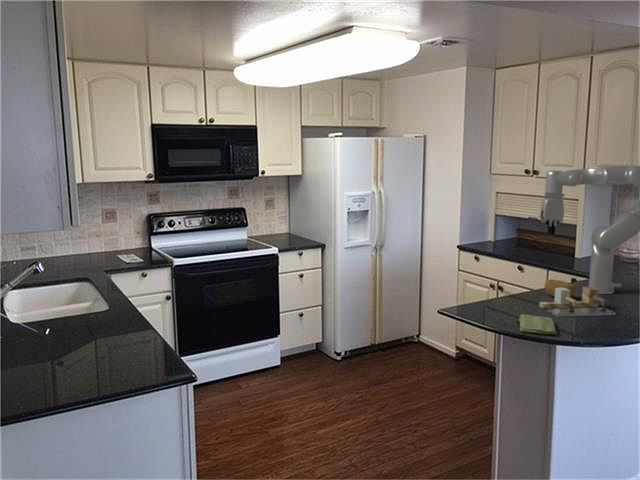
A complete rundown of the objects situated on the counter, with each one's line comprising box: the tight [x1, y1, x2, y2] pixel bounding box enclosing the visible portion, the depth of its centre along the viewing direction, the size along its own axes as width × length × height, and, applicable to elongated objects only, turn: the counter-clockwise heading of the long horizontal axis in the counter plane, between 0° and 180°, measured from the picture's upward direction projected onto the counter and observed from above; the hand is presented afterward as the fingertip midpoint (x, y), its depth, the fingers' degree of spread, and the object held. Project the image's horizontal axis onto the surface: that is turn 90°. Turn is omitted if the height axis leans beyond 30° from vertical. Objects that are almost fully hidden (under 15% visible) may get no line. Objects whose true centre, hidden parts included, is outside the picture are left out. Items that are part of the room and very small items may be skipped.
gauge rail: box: [538, 286, 606, 309], centre depth 226 cm, size 25×12×8 cm, turn 95°
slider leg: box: [553, 287, 577, 307], centre depth 225 cm, size 4×12×6 cm, turn 5°
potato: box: [544, 279, 578, 298], centre depth 245 cm, size 10×14×8 cm
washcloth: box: [518, 314, 558, 336], centre depth 203 cm, size 13×18×3 cm
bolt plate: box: [546, 306, 617, 318], centre depth 221 cm, size 25×8×2 cm, turn 95°
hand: (550, 234), depth 258 cm, fingers closed
